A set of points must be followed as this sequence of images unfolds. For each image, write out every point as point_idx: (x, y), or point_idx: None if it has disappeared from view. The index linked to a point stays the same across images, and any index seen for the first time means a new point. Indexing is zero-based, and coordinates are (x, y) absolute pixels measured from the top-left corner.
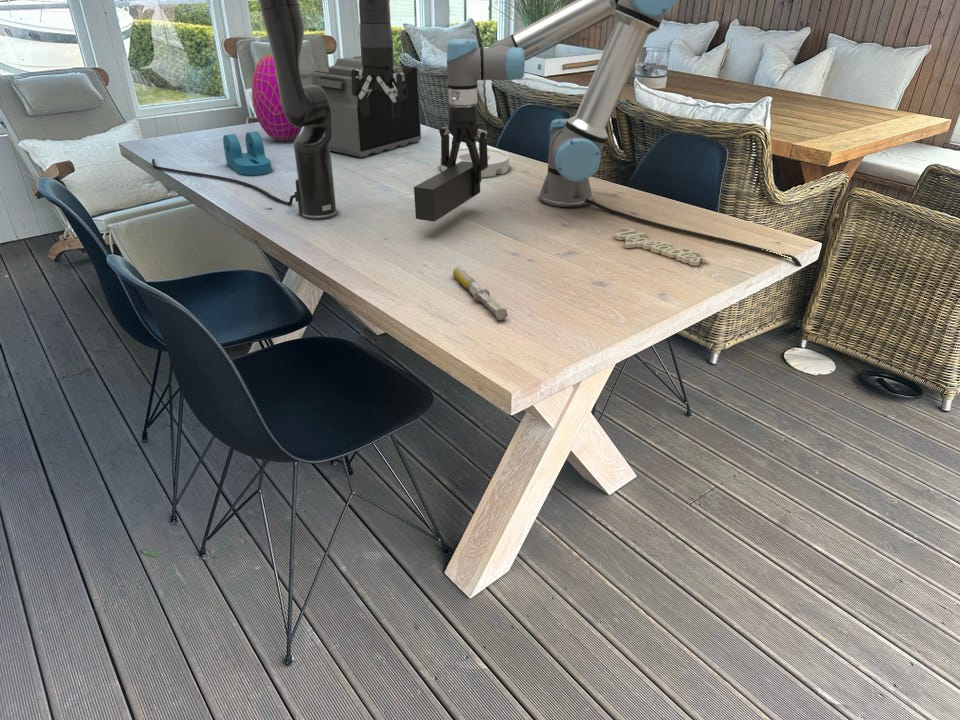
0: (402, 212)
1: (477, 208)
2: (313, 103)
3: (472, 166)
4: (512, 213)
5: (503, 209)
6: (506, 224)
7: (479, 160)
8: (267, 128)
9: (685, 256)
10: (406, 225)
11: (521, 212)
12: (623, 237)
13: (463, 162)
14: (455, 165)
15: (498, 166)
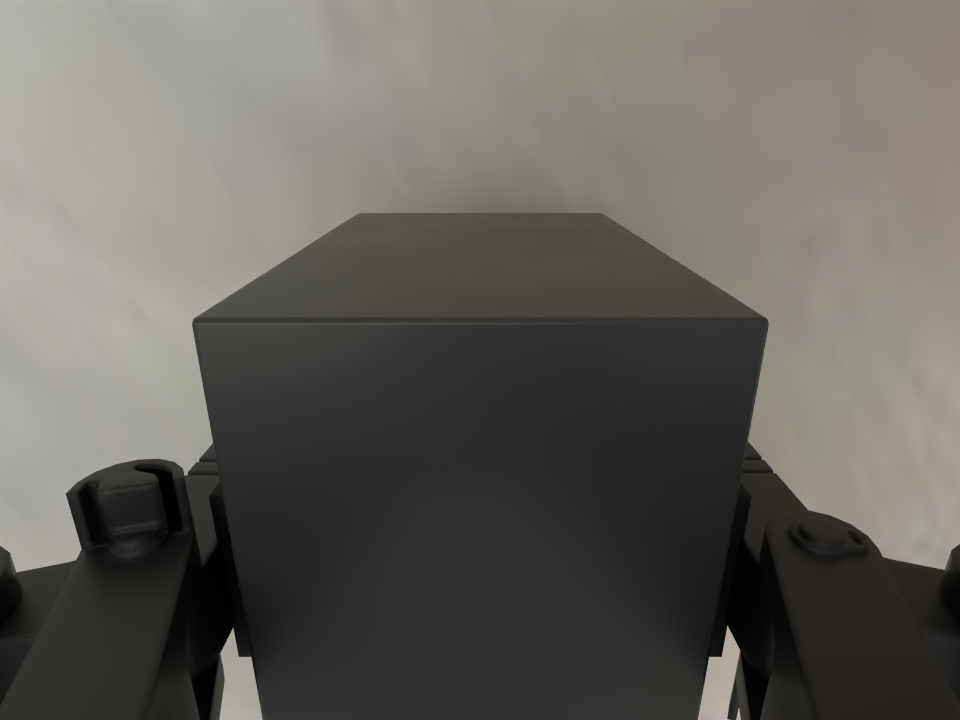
0: (35, 510)
1: (513, 136)
2: None
3: (687, 655)
4: (871, 119)
5: (760, 40)
6: (871, 401)
7: (941, 710)
8: None
9: None
10: (246, 687)
11: (952, 46)
12: None
13: (320, 446)
14: (298, 706)
15: None
